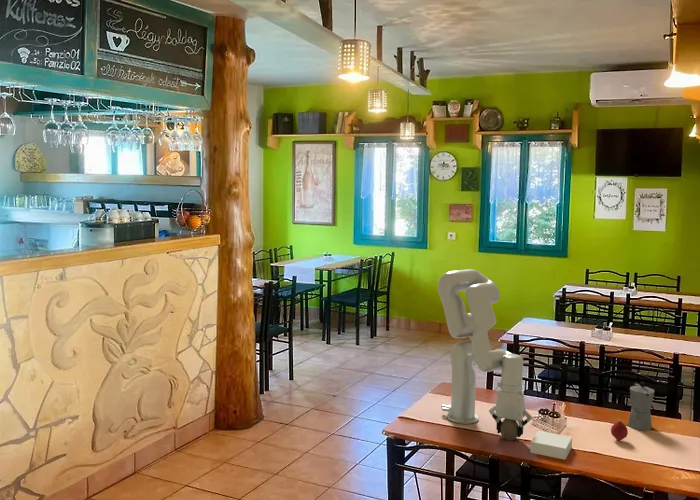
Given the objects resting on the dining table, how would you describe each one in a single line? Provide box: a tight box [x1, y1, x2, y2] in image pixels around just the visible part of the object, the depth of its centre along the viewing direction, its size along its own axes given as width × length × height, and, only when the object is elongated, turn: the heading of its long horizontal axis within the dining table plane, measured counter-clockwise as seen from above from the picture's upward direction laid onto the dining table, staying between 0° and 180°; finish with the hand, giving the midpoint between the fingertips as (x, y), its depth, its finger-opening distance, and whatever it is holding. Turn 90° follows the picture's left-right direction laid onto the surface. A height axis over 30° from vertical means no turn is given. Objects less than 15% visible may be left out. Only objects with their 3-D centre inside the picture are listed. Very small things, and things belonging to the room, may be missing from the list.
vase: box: [500, 418, 519, 442], centre depth 249 cm, size 7×7×9 cm
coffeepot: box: [627, 381, 655, 431], centre depth 264 cm, size 15×9×18 cm, turn 176°
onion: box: [610, 419, 629, 442], centre depth 248 cm, size 6×6×8 cm
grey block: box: [529, 430, 573, 460], centre depth 239 cm, size 12×12×4 cm
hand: (509, 433), depth 249 cm, fingers closed on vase, 7 cm apart
